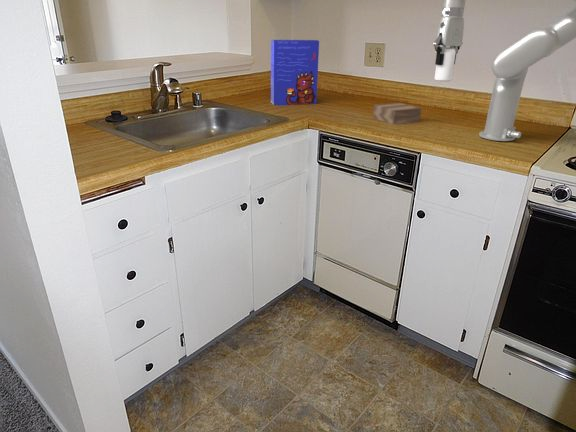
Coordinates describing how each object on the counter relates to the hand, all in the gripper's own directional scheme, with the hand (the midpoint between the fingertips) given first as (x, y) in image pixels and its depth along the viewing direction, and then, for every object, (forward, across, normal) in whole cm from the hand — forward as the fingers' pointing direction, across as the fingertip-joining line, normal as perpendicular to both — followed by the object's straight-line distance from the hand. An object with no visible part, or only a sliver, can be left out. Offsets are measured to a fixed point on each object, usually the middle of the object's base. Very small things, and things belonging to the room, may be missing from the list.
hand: (445, 64), depth 169 cm
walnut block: (+24, -6, +16) cm, 30 cm away
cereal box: (+24, -26, +66) cm, 75 cm away
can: (+6, 0, 0) cm, 6 cm away
